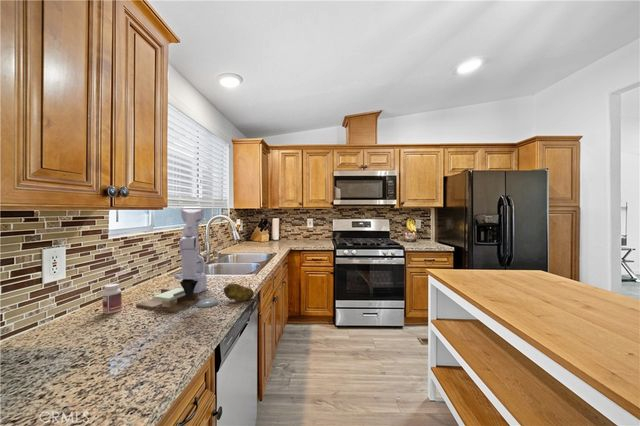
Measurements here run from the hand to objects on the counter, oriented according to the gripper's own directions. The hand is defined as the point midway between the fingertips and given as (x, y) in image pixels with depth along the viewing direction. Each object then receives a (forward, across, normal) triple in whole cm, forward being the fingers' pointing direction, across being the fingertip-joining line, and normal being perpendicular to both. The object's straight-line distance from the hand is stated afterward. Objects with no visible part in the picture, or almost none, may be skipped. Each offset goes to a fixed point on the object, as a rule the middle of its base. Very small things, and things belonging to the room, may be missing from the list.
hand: (189, 296), depth 111 cm
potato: (+5, +14, +15) cm, 21 cm away
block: (+5, -10, -1) cm, 11 cm away
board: (+5, -13, +2) cm, 15 cm away
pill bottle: (+5, -29, -12) cm, 32 cm away
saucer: (+5, +3, +7) cm, 9 cm away
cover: (+1, -10, +1) cm, 10 cm away
